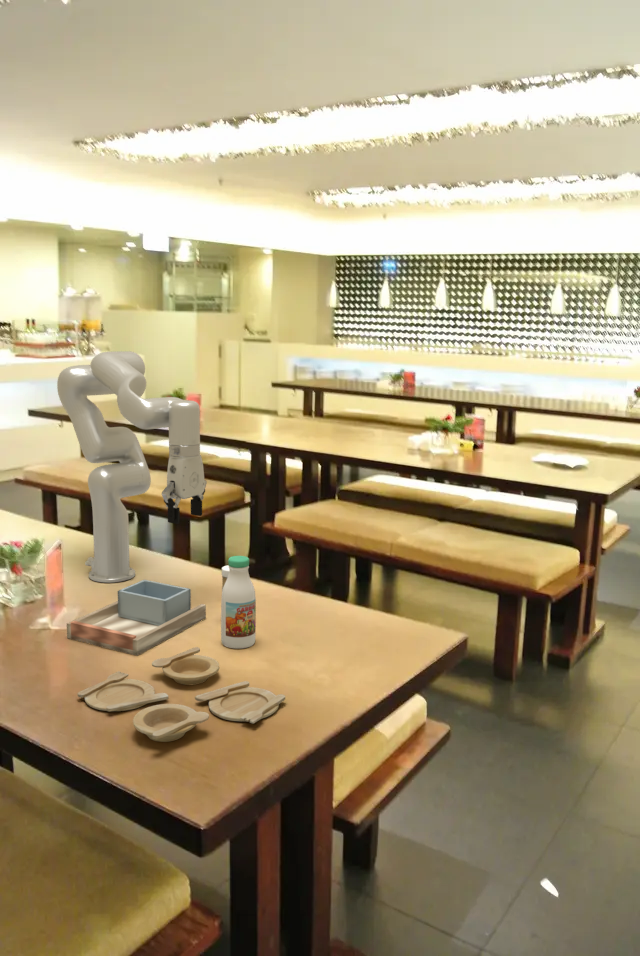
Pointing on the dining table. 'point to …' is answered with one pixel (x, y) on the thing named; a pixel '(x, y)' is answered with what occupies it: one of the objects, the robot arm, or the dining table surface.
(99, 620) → the bay
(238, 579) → the milk bottle
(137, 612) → the box
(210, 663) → the tableware set
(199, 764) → the dining table surface
